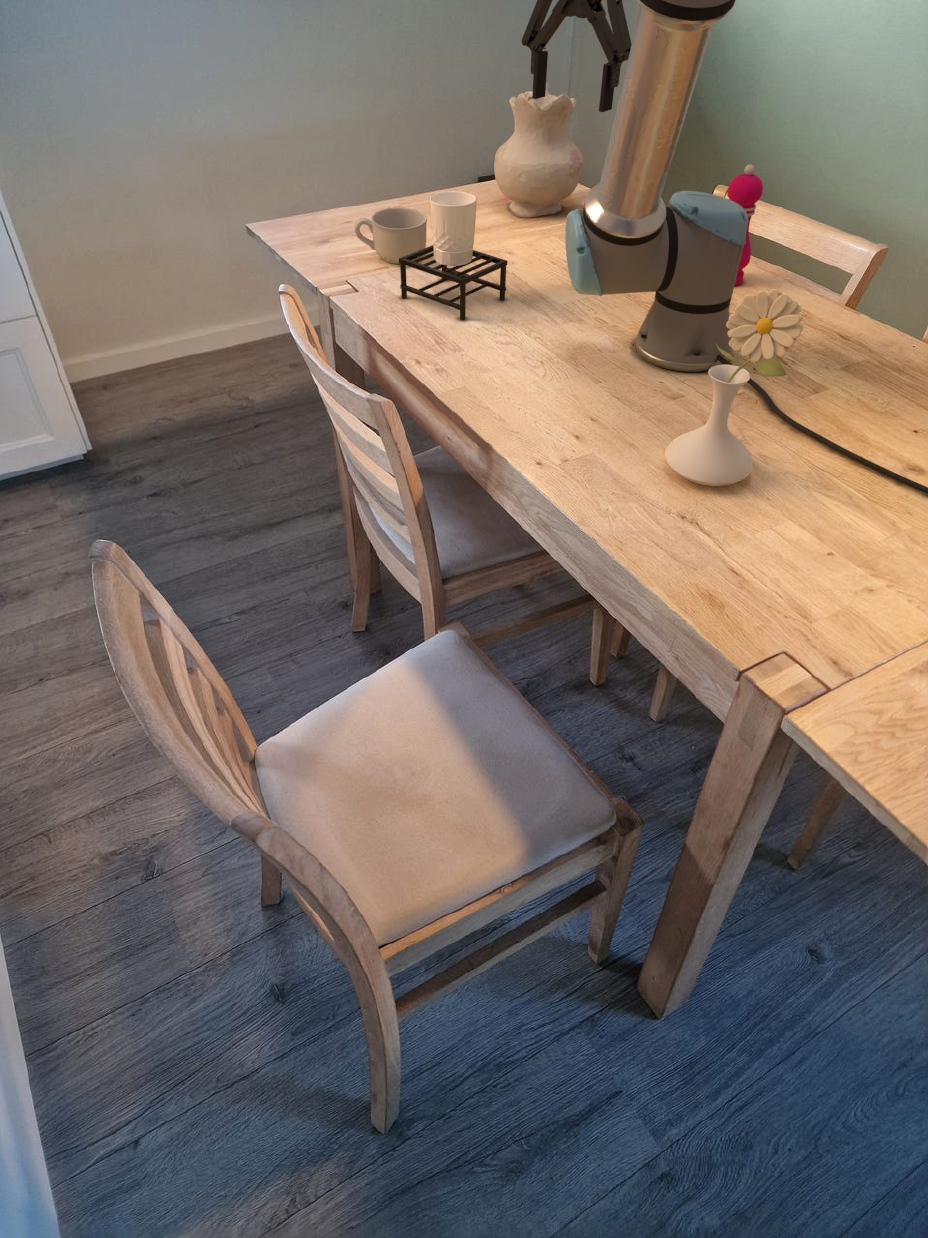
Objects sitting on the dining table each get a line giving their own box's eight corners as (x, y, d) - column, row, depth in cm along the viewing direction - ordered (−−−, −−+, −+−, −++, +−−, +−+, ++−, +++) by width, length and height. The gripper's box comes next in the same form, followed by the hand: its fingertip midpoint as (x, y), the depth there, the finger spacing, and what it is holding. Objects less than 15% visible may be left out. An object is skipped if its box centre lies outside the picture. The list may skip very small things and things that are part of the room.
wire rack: (506, 299, 151) (507, 260, 147) (463, 320, 145) (463, 280, 140) (444, 278, 158) (443, 240, 154) (400, 297, 152) (398, 258, 147)
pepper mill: (752, 284, 157) (780, 168, 144) (720, 289, 155) (745, 172, 142) (730, 270, 162) (755, 156, 149) (698, 275, 160) (721, 160, 147)
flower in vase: (645, 469, 111) (680, 280, 94) (694, 437, 117) (735, 255, 100) (730, 510, 105) (784, 316, 87) (777, 475, 110) (837, 286, 93)
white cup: (425, 253, 149) (424, 192, 142) (467, 248, 150) (468, 189, 144) (438, 269, 143) (437, 207, 136) (481, 264, 145) (482, 203, 138)
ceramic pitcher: (486, 198, 197) (480, 75, 179) (566, 187, 198) (568, 64, 181) (505, 230, 181) (501, 99, 164) (592, 218, 183) (597, 86, 165)
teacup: (431, 249, 169) (430, 207, 164) (424, 270, 161) (422, 226, 156) (363, 247, 170) (360, 205, 165) (353, 266, 162) (349, 223, 157)
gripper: (670, -56, 121) (647, 111, 136) (533, -67, 133) (525, 88, 148) (642, -52, 117) (622, 120, 132) (504, -64, 129) (499, 95, 144)
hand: (571, 103), depth 140 cm, fingers open, 13 cm apart
